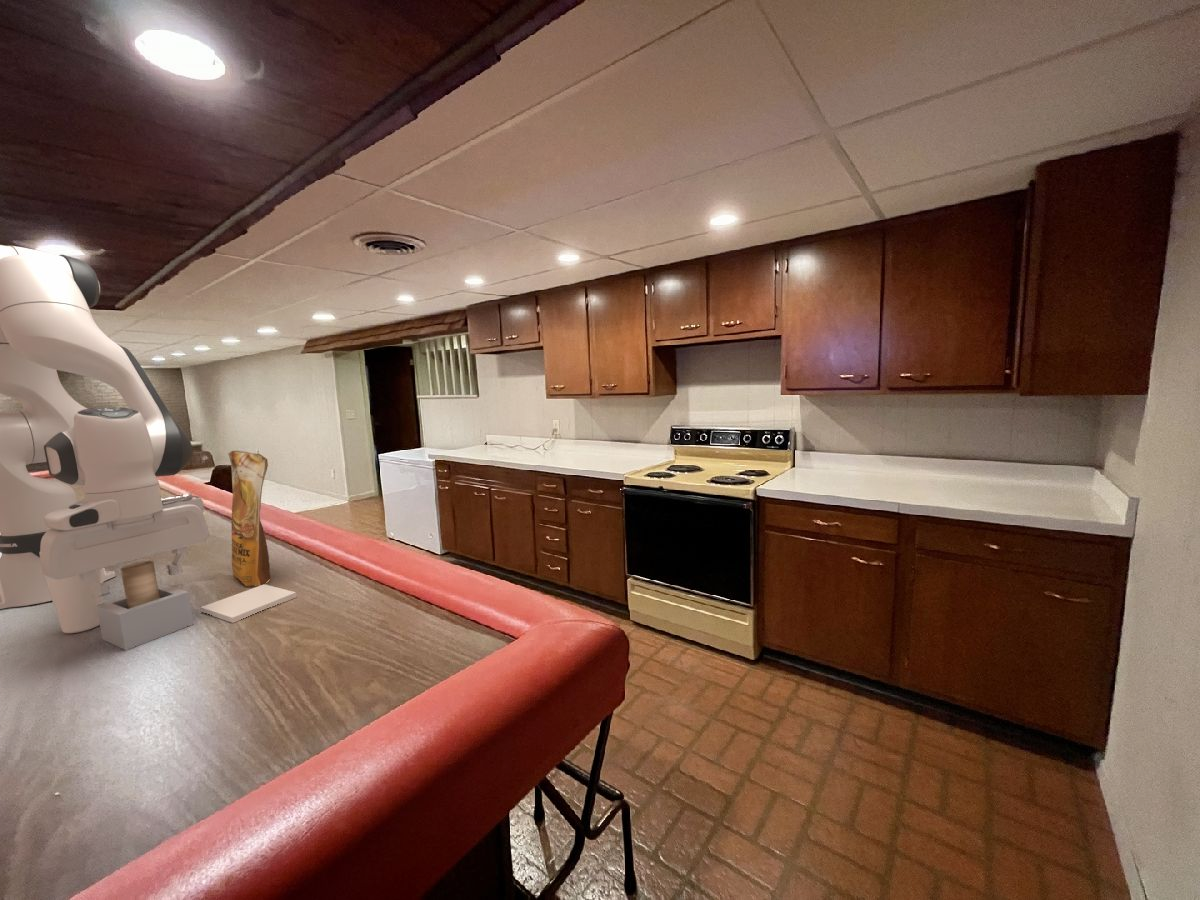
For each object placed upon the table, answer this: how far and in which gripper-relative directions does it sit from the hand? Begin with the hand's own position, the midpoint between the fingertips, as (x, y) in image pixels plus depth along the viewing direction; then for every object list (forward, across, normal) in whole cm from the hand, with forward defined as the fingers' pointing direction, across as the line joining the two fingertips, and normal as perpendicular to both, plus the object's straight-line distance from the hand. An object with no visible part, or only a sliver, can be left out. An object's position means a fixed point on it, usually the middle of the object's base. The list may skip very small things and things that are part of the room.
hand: (140, 584), depth 80 cm
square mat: (+9, -13, +6) cm, 17 cm away
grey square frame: (+9, 0, 0) cm, 9 cm away
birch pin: (+9, 0, 0) cm, 9 cm away
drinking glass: (+9, +4, -14) cm, 17 cm away
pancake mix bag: (+9, -22, -10) cm, 25 cm away
